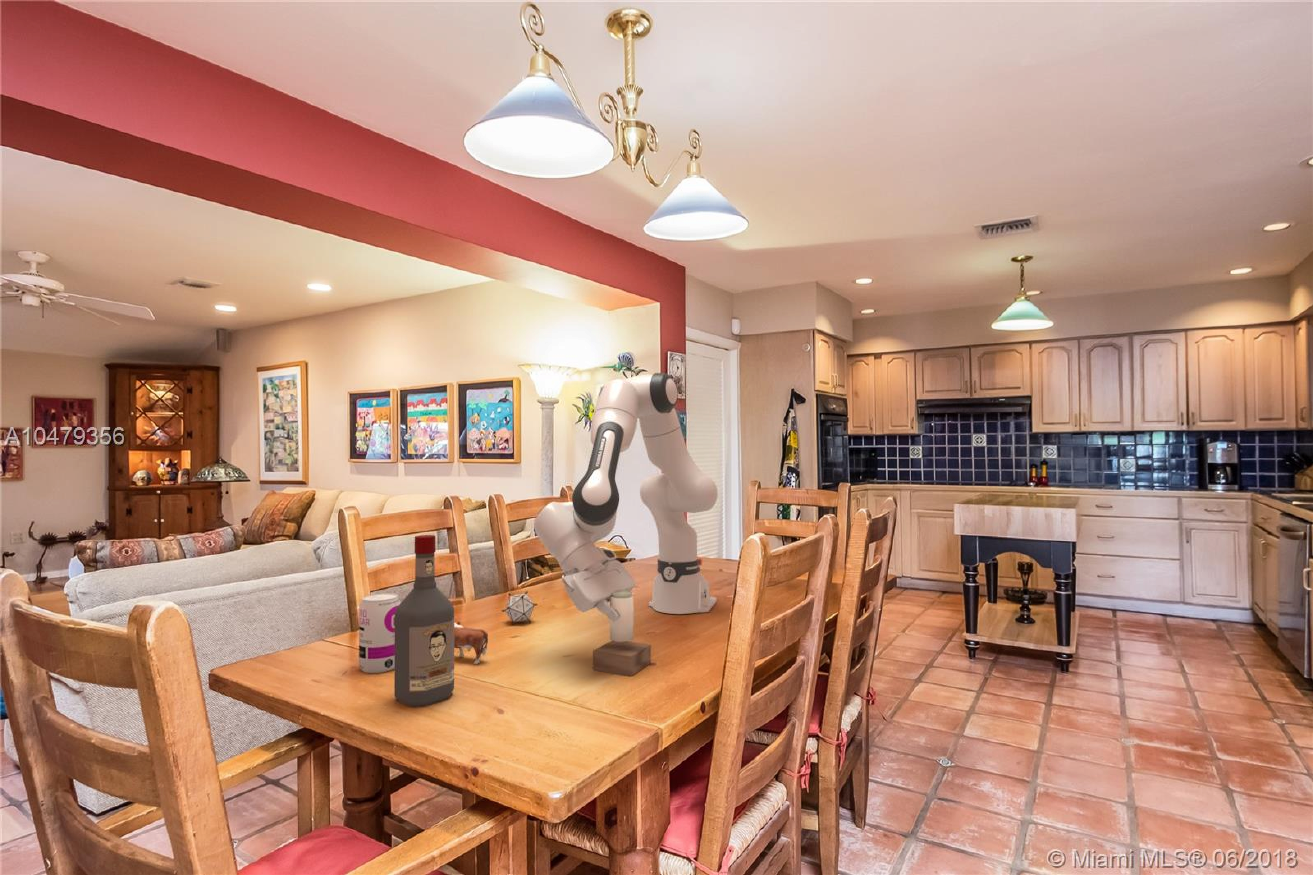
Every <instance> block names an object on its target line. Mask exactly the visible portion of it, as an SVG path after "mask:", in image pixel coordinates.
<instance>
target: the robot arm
mask: <svg viewBox="0 0 1313 875" xmlns="http://www.w3.org/2000/svg"><path fill="white" fill-rule="evenodd" d="M677 386H678V385H677V384H676V381H675V380H674V378H673V377H672V376H671V375H670V374H668V373H666V372H665V373H664V372H663V373H662V372H655V373H651V374H640V375H633V376H631V377H627V378H623V379H621V378H619V379H618V378H617V379H612V380H609V381H608V382H607V383H605V384H604V385H603V386H602V388H601V389H600V390H599V393H598V398H597V401H596V403H595V406H594V410H593V414H592V418H591V425H590V442H591V444H592V445H593V446H592V451H591V454H590V459H589V462H588V467H587V471H586V472H585V474H584V475H583V477H581V480H579V482H578V483H577V484H576V486H575V488H574V489H573V493H572V496H571V501H568V502H557V501H551V502H549V503H547V504H545V505H544V506H543V508H541V509H540V510H539V511H538V513H537V515H536V517H535V519H534V522H533V523H534V525H533V528H534V531H535V533H536V536H537V537H538V539H539V540H540V542H541V543H542V545H543V546H544V548H546V551H547V552H548V553H549V554H550V555H551V556H552V557H554V558H555V559H556V560H557V563H558V565H559V568H560V569H561V570H562V571H563V572H562V574H561V582H562V584H564V589H565V592H566V594H567V595H568V596H569V598H570V600H571V601H572V603H573V604H574V606H575V607H576V609H577V610H579V611H580V612H582V613H585V612H588V611H590V610H592V609H595V608H596V609H597V610H598V611H599V612H600V613H602V614H603V615H605V616H607V617H608V619H609V621H610V620H611V621H612V622H613V621H616V620H617V619H618V618H619V617H620V613H618V611H617V610H616V609H615V610H614V609H613V608H612V607H610V604H609V603H610V597H611V596H612V592H614V591H617V590H629V591H632V590H634V589H635V587H636V582H635V580H634V578H633V576H632V575H631V574H630V572H629V571H628V570H627V568H626V567H625V566H624V564H622V562H621V561H619V560H617V557H618V556H617V554H616V553H615V552H614V551H613V550H611V549H604V548H601V547H600V546H599V547H598V546H596V544H594V543H597V542H598V541H600V540H603V539H604V538H606V537H608V535H610V534H611V533H612V531H613V530H614V528H615V525H616V523H617V522H616V521H617V520H616V519H617V513H618V508H619V504H620V492H619V488H618V486H617V483H616V474H617V470H618V465H619V459H620V454H621V453H623V452H625V451H627V450H629V448H630V446H631V445H632V441H633V439H634V436H635V432H636V429H637V423H638V422H639V426H640V431H641V435H642V439H643V441H644V442H643V443H644V446H645V450H646V453H647V457H648V460H649V461H650V463H652V465H654V466H655V467H656V468H658V469H659V470H660V471H661V473H656V474H652V475H648V476H646V477H645V478H644V479H643V480H642V482H641V485H640V488H639V496H640V499H641V501H642V503H643V504H644V505H645V507H647V508H648V509H649V512H650V513H651V515H652V517H653V521H654V522H655V526H656V529H657V535H658V559H657V564H656V567H657V573H658V574H657V575H656V576H655V577H654V578H653V583H652V586H653V587H652V598H651V600H650V601H649V602H648V606H649V607H650V608H653V610H654V611H656V612H659V613H664V614H672V615H673V614H674V615H686V614H694V613H695V614H697V613H708V612H710V611H711V610H712V608H713V607H714V606H715V604H716V603H717V601H718V600H717V597H715V596H711V595H710V583H709V581H708V580H707V579H706V578H705V577H704V576H703V574H701V572H700V571H701V566H702V565H703V558H701V557H700V558H698V534H697V532H696V529H694V527H692V526H691V525H690V524H689V523H688V521H687V519H686V517H685V514H684V513H689V514H690V513H691V514H696V513H703V512H709V511H710V510H712V508H714V507H715V504H716V502H717V500H718V496H719V494H718V488H717V484H716V483H715V481H714V480H713V479H712V478H711V477H709V476H707V475H706V473H704V472H703V470H701V469H700V468H699V467H698V465H697V463H695V461H694V460H693V458H692V456H691V455H690V453H689V450H688V448H687V445H686V442H685V439H684V434H683V431H682V427H681V424H680V420H679V417H678V414H677V411H676V409H675V407H676V405H677V403H678V398H679V390H678V387H677ZM635 608H636V607H635V606H634V605H633V612H634V611H635V610H636V609H635Z"/></svg>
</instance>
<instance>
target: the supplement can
mask: <svg viewBox="0 0 1313 875" xmlns="http://www.w3.org/2000/svg"><path fill="white" fill-rule="evenodd" d="M401 602H402V601H401V600H400V598H399V595H398V594H397V593H390V592H387V593H385V592H384V593H373V594H369V595H364V597H362V599H361V601H360V603H359V605H358V606H359V609H358V613H359V614H358V615H359V616H358V619H359V620H358V629H359V630H358V668H359V669H360V670H361V672H363V673H366V674H367V673H368V674H380V673H387V672H390V671H393V670H395V612H396V609H397V607H398V606H399V605H400V603H401Z"/></svg>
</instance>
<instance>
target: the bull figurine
mask: <svg viewBox="0 0 1313 875" xmlns="http://www.w3.org/2000/svg"><path fill="white" fill-rule="evenodd" d="M488 635H489V633H488V632H487V631H486V630H484V629H479V628H471V627H466V626H464V625H461V622H460V621H456V622H455V621H454V649H459V654H458V658H463V657H465V654H464V651H463V649H467V652H471V649H474V653H475V655H476V656H475V658H474V660H475V661H474V663H473V665H478V664H479V663H480V659H482V656H485V655H486V653H487V650H488V641H489V636H488Z"/></svg>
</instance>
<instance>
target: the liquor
mask: <svg viewBox="0 0 1313 875" xmlns="http://www.w3.org/2000/svg"><path fill="white" fill-rule="evenodd" d="M435 553H436V535H433V534H424V535H423V534H422V535H415V536H414V554H415V563H414V565H415V567H414V568H415V574H414V575H415V576H414V582H413V588H412V589H411V591H410V592H409V593H408V594H407V595H406V596H405V597H404V599H403V600H402V601H400V602H401V603H400V605H399V606H398V607H397V609H396V612H395V669H394V685H393V686H394V688H393V691H394V697H395V699H396V701H398V700H399V702H400V701H401V703H402V702H403V703H402V704H404V703H405V704H404V705H406V704H407V706H408V705H410V706H416V707H426V706H425V705H427V706H430V705H432V704H436V703H439V702H441V701H440V700H442V701H445V700H448V699H449V698H450V697H449V696H451V695H452V693H453V691H454V689H455V648H454V623H455V608H454V605H453V603H452V602H451V601H450V599H449V598H448V597H447V596H446V595H445V594H444V593H443V592H442V591H441V590H440V589H439V588H438V587H437V581H436V578H435V576H436V570H435V568H436V567H435V566H436V565H435V557H436V556H435ZM447 698H448V699H447ZM438 701H439V702H438ZM435 702H436V703H435ZM410 706H409V707H410Z"/></svg>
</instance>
